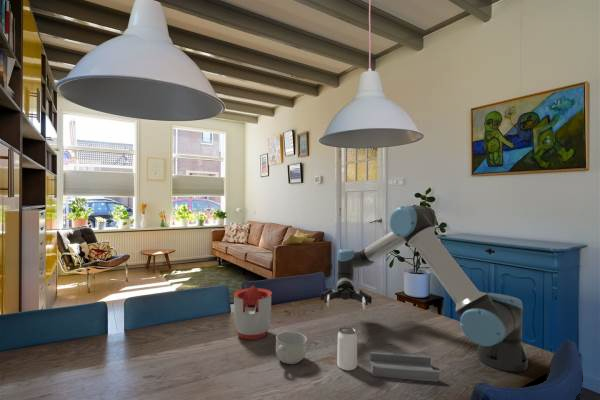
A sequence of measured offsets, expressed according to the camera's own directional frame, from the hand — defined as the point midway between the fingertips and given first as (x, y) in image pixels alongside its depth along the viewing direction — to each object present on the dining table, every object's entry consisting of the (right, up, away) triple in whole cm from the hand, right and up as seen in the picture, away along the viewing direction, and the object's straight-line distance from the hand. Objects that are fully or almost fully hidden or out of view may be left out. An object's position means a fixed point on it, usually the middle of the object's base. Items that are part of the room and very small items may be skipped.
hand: (346, 304), depth 123 cm
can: (-1, -17, -13) cm, 21 cm away
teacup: (-21, -17, -10) cm, 29 cm away
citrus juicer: (-37, -16, +11) cm, 42 cm away
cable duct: (+16, -17, -15) cm, 28 cm away
